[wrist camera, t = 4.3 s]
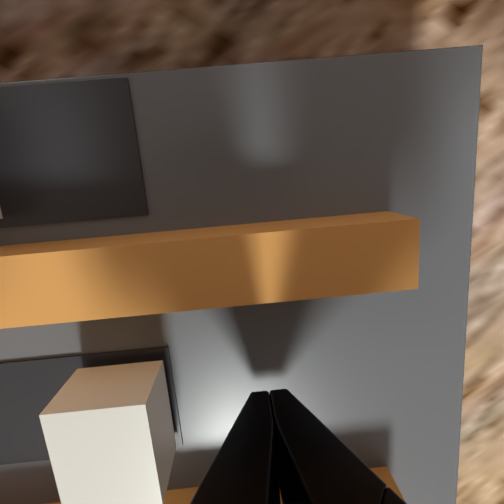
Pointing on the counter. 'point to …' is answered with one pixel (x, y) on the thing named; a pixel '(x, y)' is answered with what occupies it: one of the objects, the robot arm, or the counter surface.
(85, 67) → the counter surface
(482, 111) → the counter surface
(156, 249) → the orange bar
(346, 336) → the breaker panel
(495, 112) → the counter surface
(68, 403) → the block
